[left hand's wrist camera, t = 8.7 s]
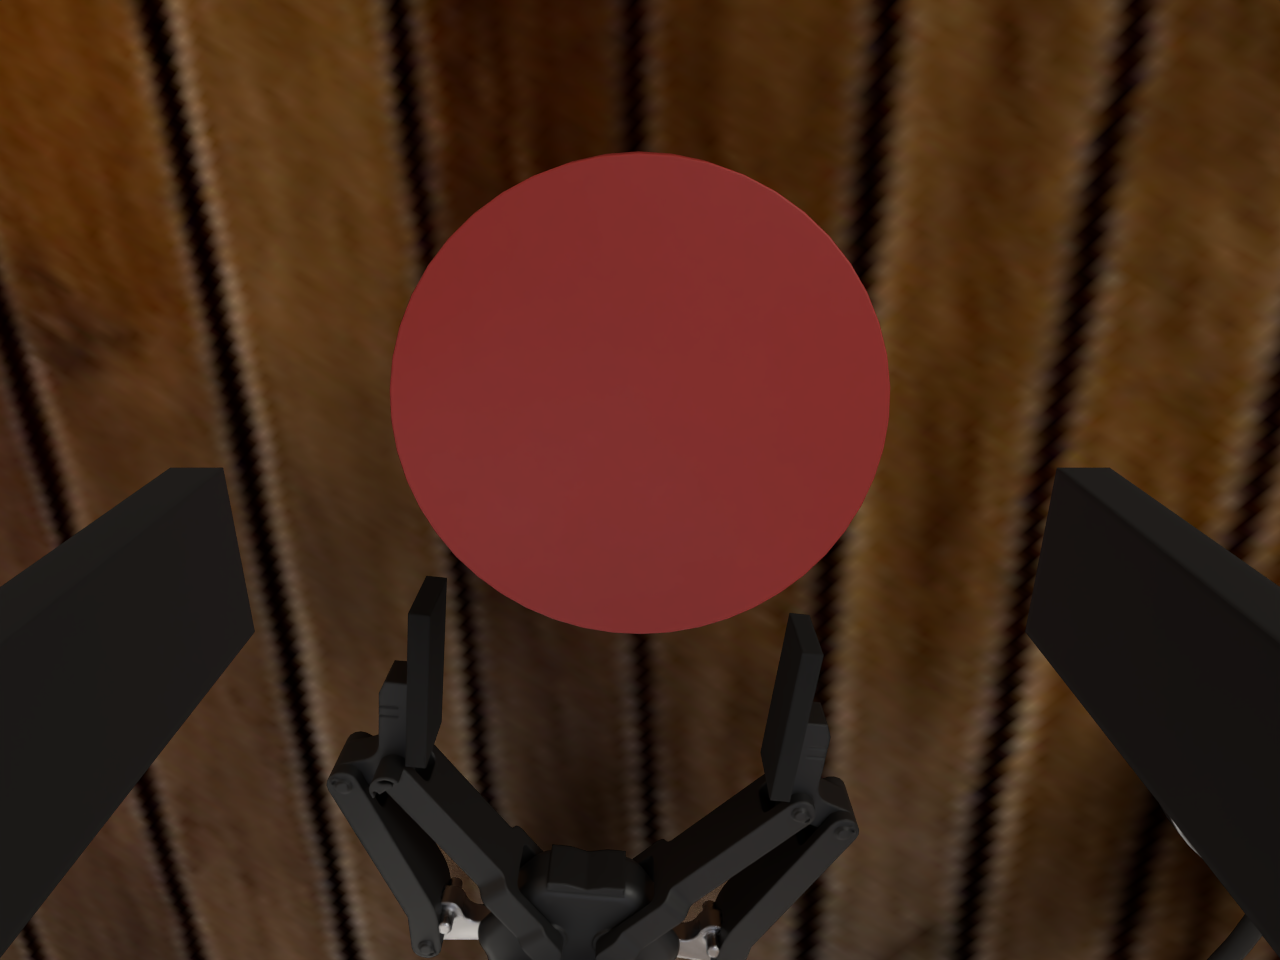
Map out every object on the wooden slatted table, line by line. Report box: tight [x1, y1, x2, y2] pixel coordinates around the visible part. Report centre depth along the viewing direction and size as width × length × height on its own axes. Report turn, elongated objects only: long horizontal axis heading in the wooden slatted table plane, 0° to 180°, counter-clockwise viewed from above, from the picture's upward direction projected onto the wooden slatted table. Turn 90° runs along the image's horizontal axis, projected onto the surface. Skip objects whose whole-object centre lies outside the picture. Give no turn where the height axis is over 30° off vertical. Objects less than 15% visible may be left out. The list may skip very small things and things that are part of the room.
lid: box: [390, 152, 890, 634], centre depth 20 cm, size 11×11×2 cm
